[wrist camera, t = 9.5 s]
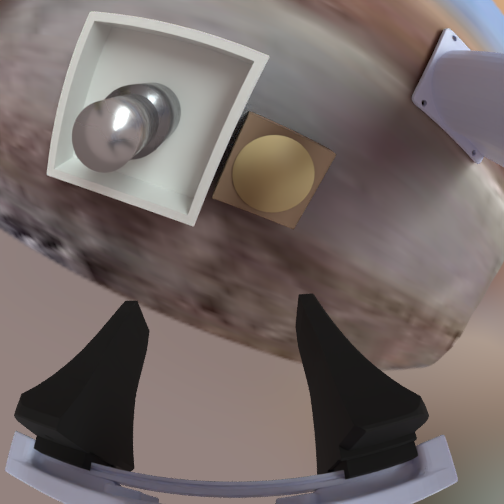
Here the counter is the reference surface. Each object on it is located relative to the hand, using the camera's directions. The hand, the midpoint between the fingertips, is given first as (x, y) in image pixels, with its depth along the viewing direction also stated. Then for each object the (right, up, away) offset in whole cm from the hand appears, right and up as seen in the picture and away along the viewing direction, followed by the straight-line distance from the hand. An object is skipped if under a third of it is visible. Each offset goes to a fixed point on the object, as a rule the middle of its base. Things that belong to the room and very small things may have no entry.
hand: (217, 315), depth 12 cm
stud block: (+3, +8, +6) cm, 11 cm away
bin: (-5, +12, +4) cm, 14 cm away
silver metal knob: (-5, +12, +3) cm, 13 cm away
